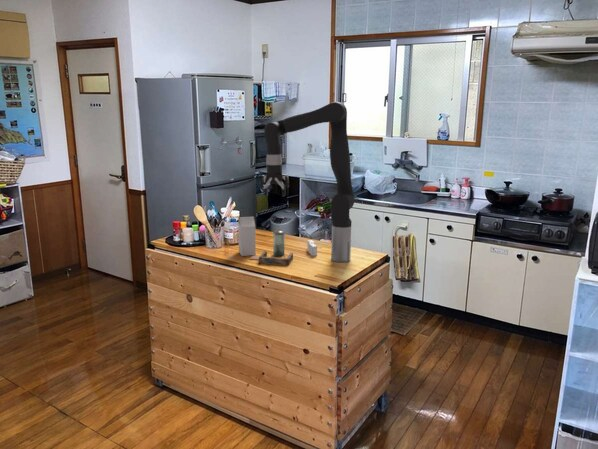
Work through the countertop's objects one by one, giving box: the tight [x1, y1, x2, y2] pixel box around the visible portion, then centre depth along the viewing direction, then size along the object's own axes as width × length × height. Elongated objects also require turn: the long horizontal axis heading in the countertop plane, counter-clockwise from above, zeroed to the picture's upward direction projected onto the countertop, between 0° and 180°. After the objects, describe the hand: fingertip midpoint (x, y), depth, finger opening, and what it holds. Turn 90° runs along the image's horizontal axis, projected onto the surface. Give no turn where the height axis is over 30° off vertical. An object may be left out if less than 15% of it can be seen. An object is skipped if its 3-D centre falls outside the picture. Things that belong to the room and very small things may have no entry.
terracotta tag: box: [249, 255, 260, 261], centre depth 242 cm, size 5×5×1 cm
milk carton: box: [238, 216, 257, 257], centre depth 247 cm, size 7×7×19 cm
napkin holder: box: [307, 239, 318, 257], centre depth 253 cm, size 15×11×6 cm
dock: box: [258, 250, 294, 266], centre depth 238 cm, size 14×10×3 cm
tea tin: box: [272, 229, 286, 258], centre depth 246 cm, size 6×6×12 cm
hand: (274, 196), depth 245 cm, fingers open, 8 cm apart
